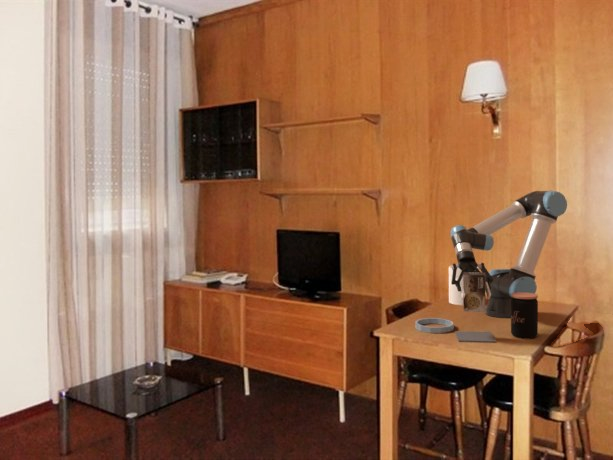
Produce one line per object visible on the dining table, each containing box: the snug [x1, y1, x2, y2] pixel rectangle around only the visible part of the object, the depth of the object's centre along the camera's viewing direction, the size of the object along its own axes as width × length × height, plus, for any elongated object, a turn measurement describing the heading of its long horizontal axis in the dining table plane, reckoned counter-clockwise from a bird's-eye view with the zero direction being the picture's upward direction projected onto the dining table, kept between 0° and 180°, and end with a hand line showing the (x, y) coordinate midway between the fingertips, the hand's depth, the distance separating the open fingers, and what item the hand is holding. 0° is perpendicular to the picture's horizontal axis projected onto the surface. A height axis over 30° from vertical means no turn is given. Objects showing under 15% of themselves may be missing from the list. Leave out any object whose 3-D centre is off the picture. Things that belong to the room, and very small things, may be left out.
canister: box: [448, 264, 479, 306], centre depth 287 cm, size 16×16×20 cm
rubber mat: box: [454, 330, 497, 343], centre depth 220 cm, size 15×14×1 cm
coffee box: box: [462, 271, 487, 313], centre depth 219 cm, size 9×6×16 cm
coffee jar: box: [510, 292, 539, 340], centre depth 220 cm, size 11×11×18 cm
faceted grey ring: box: [414, 317, 455, 334], centre depth 237 cm, size 17×17×2 cm
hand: (476, 296), depth 216 cm, fingers closed on coffee box, 10 cm apart
